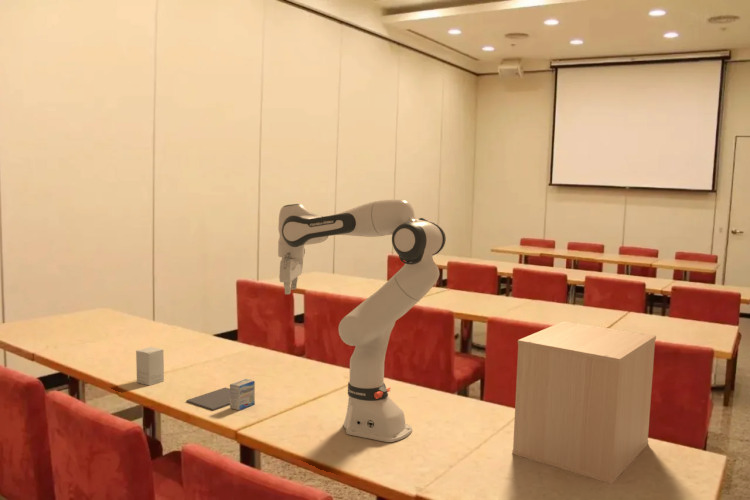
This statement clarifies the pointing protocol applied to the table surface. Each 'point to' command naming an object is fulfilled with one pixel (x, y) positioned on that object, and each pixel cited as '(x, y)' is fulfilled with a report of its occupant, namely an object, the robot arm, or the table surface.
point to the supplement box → (150, 366)
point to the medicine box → (242, 394)
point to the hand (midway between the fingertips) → (290, 291)
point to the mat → (213, 399)
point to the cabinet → (583, 398)
